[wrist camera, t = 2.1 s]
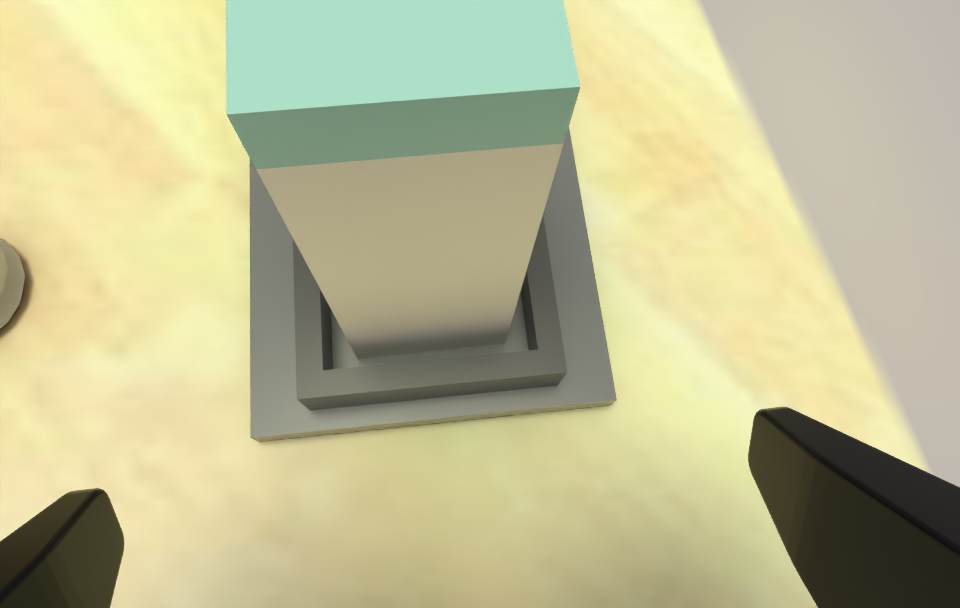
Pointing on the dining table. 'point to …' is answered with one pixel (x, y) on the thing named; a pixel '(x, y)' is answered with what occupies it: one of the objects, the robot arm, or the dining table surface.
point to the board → (435, 374)
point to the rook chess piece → (9, 281)
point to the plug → (406, 152)
